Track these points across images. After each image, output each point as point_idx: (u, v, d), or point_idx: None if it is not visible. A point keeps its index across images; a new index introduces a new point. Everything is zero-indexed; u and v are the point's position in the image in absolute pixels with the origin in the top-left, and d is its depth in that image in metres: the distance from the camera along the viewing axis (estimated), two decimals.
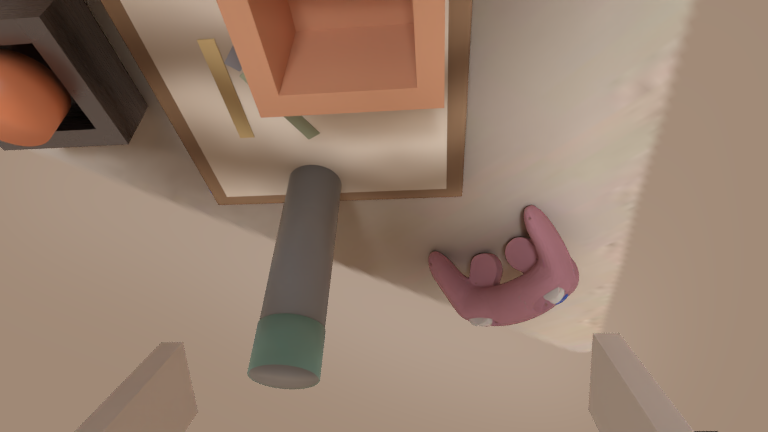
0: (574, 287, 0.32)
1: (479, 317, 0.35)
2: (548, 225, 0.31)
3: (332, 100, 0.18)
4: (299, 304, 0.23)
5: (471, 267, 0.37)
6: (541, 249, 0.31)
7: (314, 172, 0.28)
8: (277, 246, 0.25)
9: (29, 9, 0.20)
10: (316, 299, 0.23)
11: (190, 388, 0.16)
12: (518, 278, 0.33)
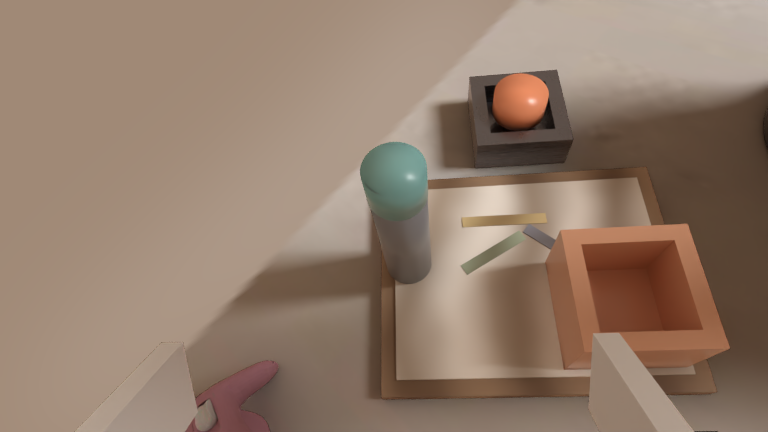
0: None
1: (215, 411, 0.27)
2: None
3: (581, 276, 0.27)
4: (425, 208, 0.26)
5: (250, 413, 0.31)
6: None
7: (430, 263, 0.33)
8: None
9: None
10: (416, 224, 0.26)
11: (190, 388, 0.16)
12: None
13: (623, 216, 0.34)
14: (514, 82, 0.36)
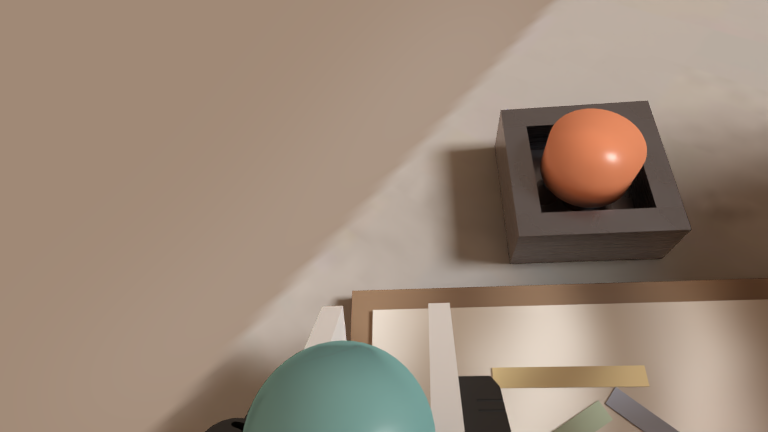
0: None
1: None
2: None
3: None
4: None
5: None
6: None
7: None
8: None
9: None
10: None
11: None
12: None
13: None
14: (582, 124, 0.21)
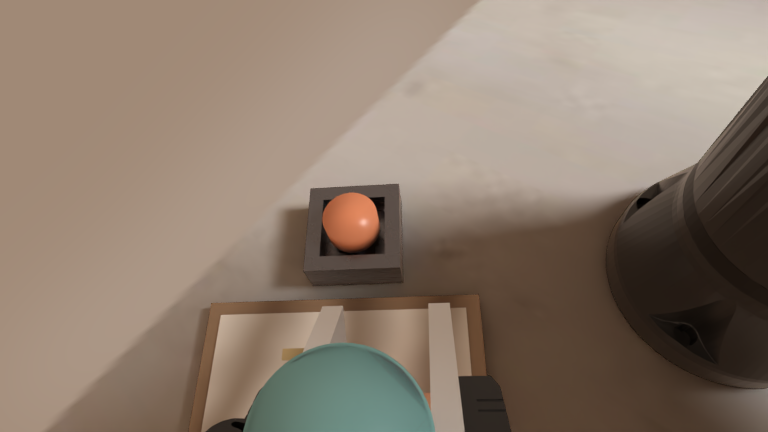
0: None
1: None
2: None
3: None
4: None
5: None
6: None
7: None
8: None
9: (400, 261, 0.35)
10: None
11: None
12: None
13: None
14: (345, 203, 0.35)
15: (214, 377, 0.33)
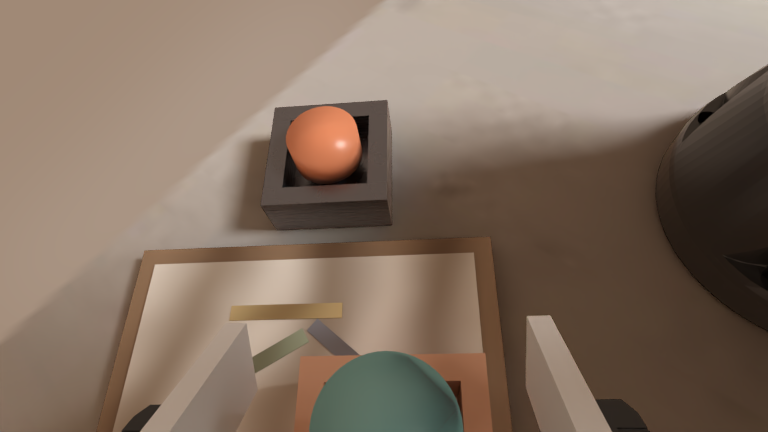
0: None
1: None
2: None
3: None
4: None
5: None
6: None
7: None
8: None
9: (388, 193, 0.27)
10: None
11: (252, 367, 0.17)
12: None
13: (445, 311, 0.24)
14: (316, 118, 0.27)
15: (140, 343, 0.25)
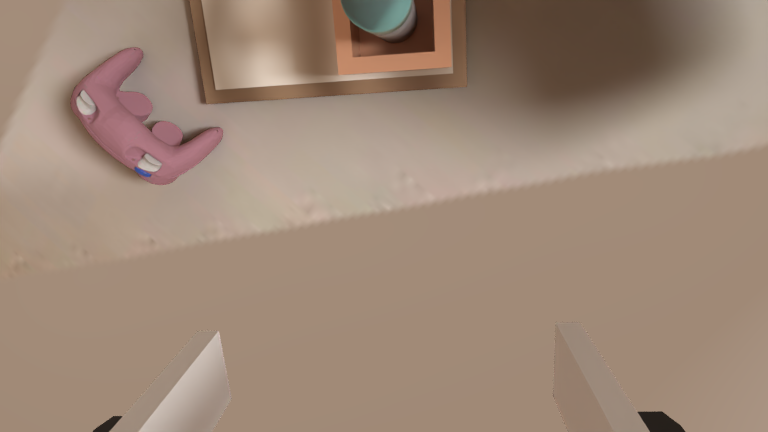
0: (156, 181, 0.36)
1: (91, 99, 0.34)
2: (212, 148, 0.37)
3: None
4: (410, 12, 0.25)
5: (131, 92, 0.37)
6: (194, 144, 0.36)
7: (416, 21, 0.33)
8: None
9: None
10: (401, 27, 0.26)
11: (225, 375, 0.16)
12: (151, 132, 0.35)
13: None
14: None
15: None
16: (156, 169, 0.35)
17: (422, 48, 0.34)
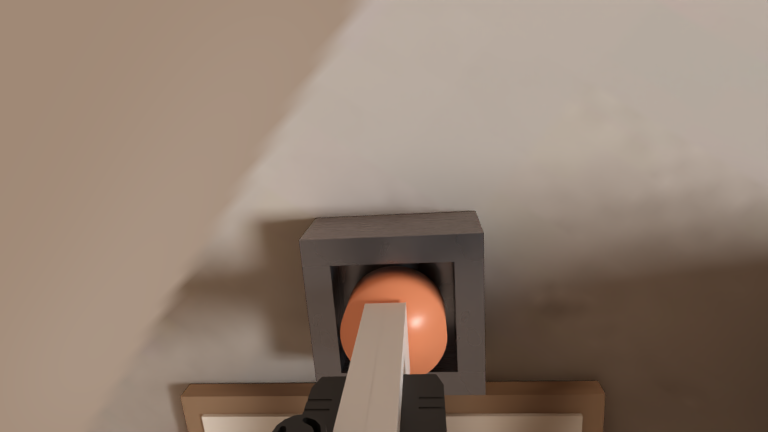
0: None
1: None
2: None
3: None
4: None
5: None
6: None
7: None
8: None
9: None
10: None
11: None
12: None
13: None
14: None
15: None
16: None
17: None
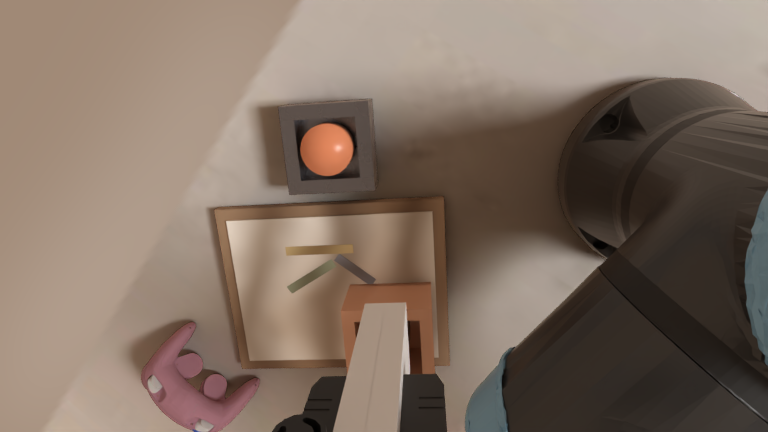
0: None
1: (159, 382, 0.43)
2: (251, 397, 0.47)
3: (352, 344, 0.39)
4: None
5: (186, 354, 0.46)
6: (238, 402, 0.45)
7: None
8: None
9: (375, 179, 0.38)
10: None
11: None
12: (204, 396, 0.45)
13: (414, 248, 0.41)
14: (319, 136, 0.37)
15: (237, 268, 0.43)
16: (209, 429, 0.44)
17: (414, 344, 0.43)
